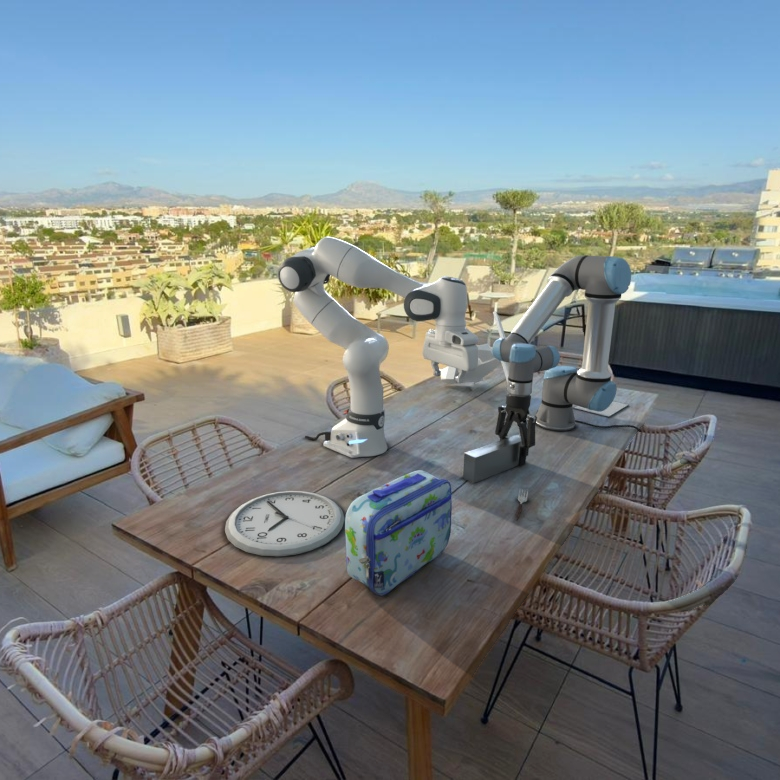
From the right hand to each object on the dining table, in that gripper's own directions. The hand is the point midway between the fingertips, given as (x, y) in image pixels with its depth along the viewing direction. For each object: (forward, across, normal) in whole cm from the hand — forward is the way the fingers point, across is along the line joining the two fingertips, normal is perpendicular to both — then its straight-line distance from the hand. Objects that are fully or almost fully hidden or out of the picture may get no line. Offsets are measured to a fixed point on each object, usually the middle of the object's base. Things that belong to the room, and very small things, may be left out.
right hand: (512, 460), depth 170 cm
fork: (+1, +20, -21) cm, 29 cm away
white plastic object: (+1, -59, +48) cm, 76 cm away
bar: (+1, 0, -8) cm, 9 cm away
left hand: (-29, -11, -21) cm, 37 cm away
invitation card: (+1, -14, +76) cm, 78 cm away
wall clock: (+1, -12, -76) cm, 77 cm away
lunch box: (+1, +21, -64) cm, 68 cm away
